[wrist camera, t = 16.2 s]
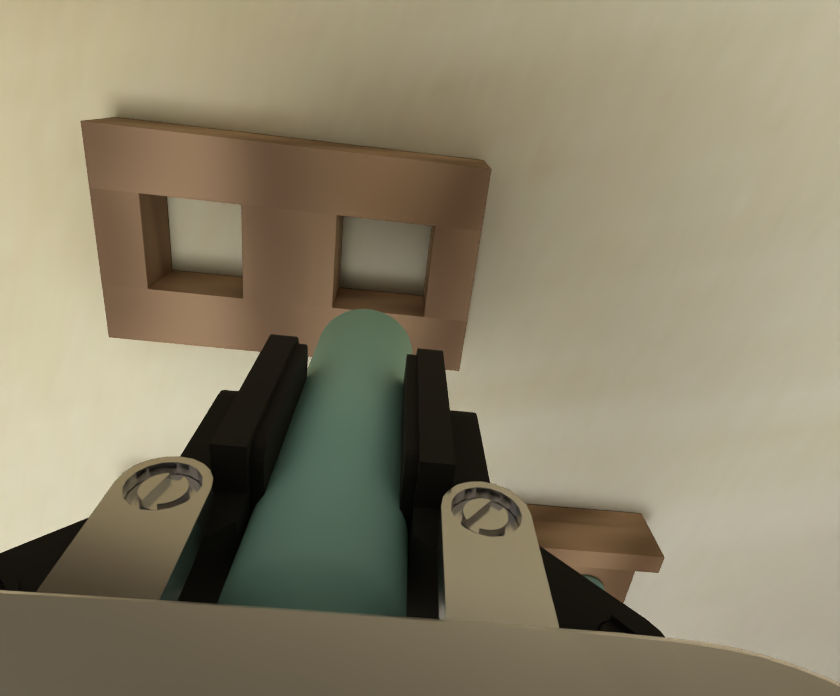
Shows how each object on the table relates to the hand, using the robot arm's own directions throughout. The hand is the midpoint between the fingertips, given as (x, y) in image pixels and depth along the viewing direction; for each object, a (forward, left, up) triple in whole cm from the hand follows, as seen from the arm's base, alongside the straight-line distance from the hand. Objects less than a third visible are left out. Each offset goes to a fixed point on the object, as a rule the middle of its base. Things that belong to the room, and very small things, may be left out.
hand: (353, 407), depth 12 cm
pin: (0, 0, -3) cm, 3 cm away
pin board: (+3, 0, -13) cm, 13 cm away
